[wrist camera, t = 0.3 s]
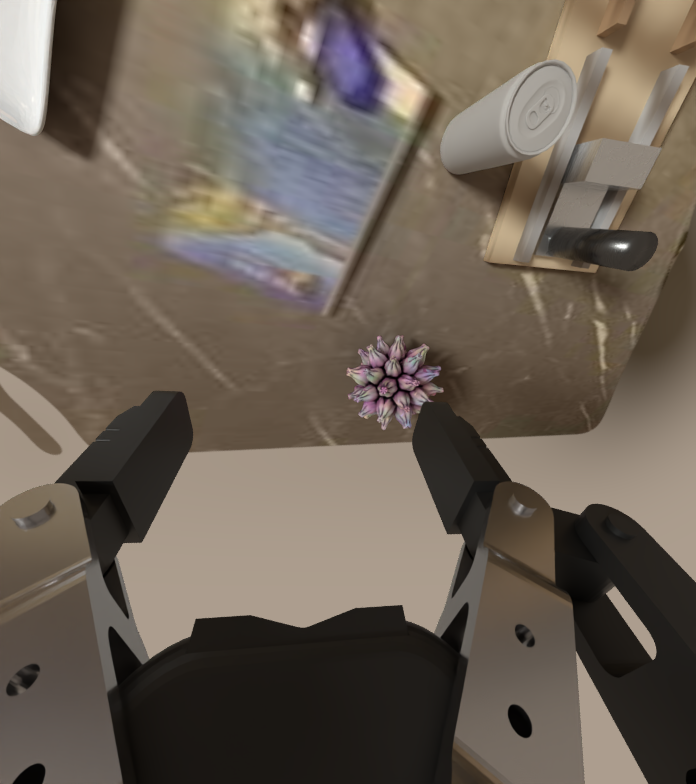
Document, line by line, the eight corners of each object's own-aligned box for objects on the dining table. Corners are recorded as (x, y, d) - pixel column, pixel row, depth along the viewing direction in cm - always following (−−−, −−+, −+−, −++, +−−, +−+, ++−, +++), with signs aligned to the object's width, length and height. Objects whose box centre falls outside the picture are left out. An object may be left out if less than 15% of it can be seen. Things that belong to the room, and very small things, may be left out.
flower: (372, 409, 45) (388, 466, 35) (325, 353, 39) (328, 402, 29) (437, 368, 42) (476, 418, 32) (397, 302, 36) (429, 337, 26)
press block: (568, 146, 28) (674, 119, 20) (621, 155, 29) (744, 133, 21) (527, 253, 33) (598, 267, 25) (573, 258, 34) (657, 273, 26)
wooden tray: (597, -101, 22) (641, -150, 19) (747, -56, 24) (808, -94, 21) (483, 260, 35) (499, 265, 32) (585, 270, 37) (609, 275, 34)
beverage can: (494, 147, 29) (590, 112, 19) (454, 187, 30) (524, 176, 20) (469, 98, 27) (563, 30, 17) (428, 144, 28) (491, 108, 18)
